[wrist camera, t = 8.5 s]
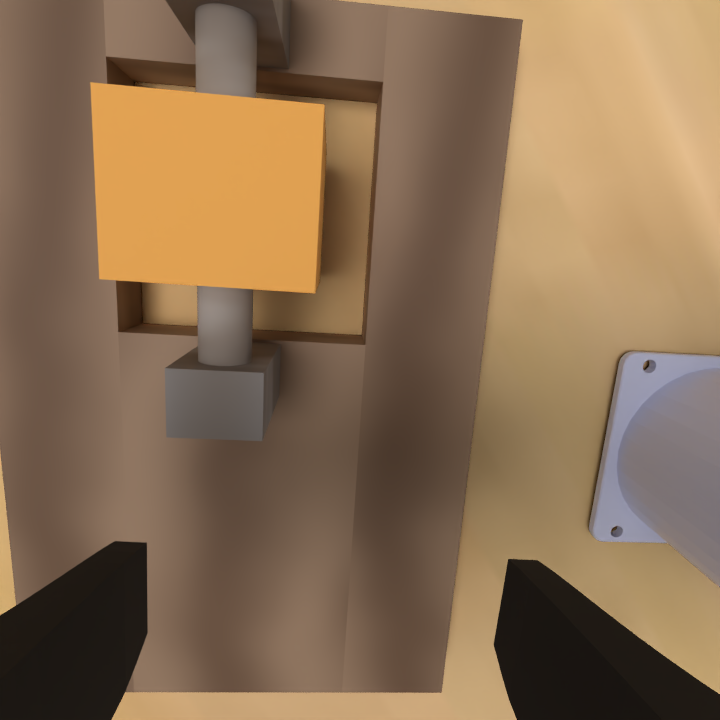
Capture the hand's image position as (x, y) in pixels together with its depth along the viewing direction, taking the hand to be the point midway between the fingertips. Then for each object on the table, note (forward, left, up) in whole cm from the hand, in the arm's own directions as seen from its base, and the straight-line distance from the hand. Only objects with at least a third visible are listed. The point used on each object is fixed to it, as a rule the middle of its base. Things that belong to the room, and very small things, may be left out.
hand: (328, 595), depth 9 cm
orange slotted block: (+3, -8, -8) cm, 11 cm away
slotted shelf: (+3, -2, -9) cm, 10 cm away
